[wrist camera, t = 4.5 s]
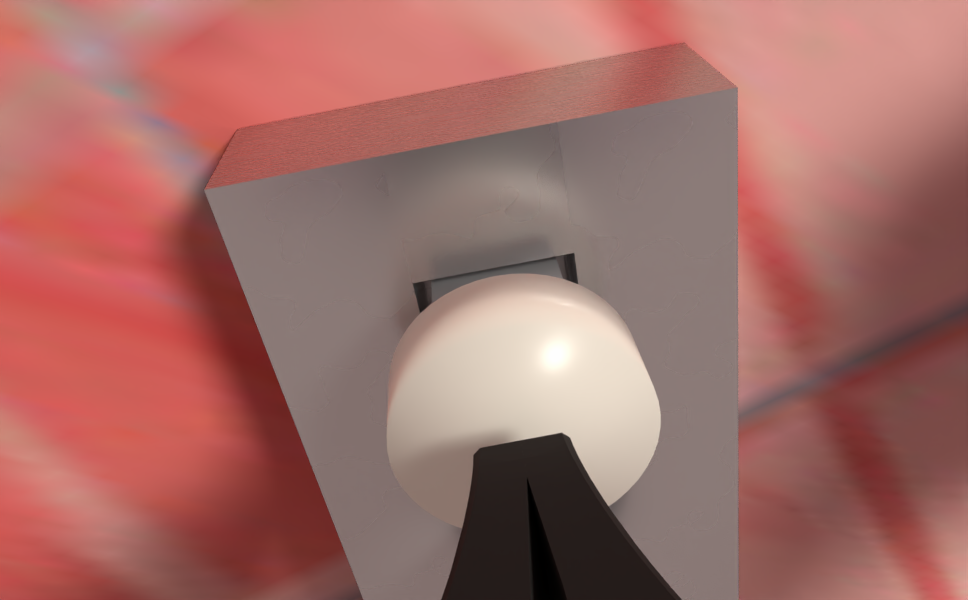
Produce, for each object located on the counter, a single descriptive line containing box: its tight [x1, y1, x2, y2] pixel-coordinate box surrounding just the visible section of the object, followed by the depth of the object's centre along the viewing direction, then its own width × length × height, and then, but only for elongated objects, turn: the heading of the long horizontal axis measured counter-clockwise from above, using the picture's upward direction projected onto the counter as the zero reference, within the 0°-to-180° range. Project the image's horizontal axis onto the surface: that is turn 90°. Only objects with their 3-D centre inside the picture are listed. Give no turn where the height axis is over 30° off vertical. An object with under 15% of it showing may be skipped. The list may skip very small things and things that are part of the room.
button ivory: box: [386, 256, 661, 528], centre depth 14 cm, size 4×4×4 cm
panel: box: [204, 43, 739, 600], centre depth 20 cm, size 9×20×3 cm, turn 10°
